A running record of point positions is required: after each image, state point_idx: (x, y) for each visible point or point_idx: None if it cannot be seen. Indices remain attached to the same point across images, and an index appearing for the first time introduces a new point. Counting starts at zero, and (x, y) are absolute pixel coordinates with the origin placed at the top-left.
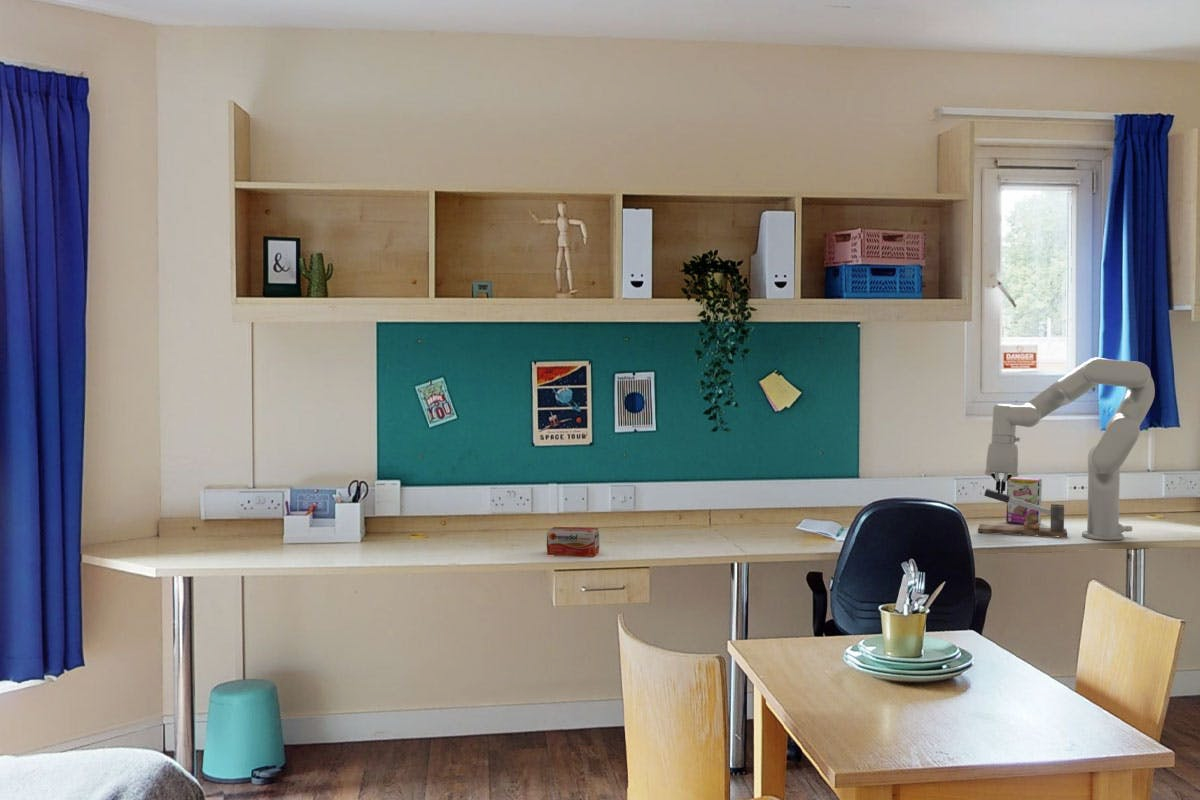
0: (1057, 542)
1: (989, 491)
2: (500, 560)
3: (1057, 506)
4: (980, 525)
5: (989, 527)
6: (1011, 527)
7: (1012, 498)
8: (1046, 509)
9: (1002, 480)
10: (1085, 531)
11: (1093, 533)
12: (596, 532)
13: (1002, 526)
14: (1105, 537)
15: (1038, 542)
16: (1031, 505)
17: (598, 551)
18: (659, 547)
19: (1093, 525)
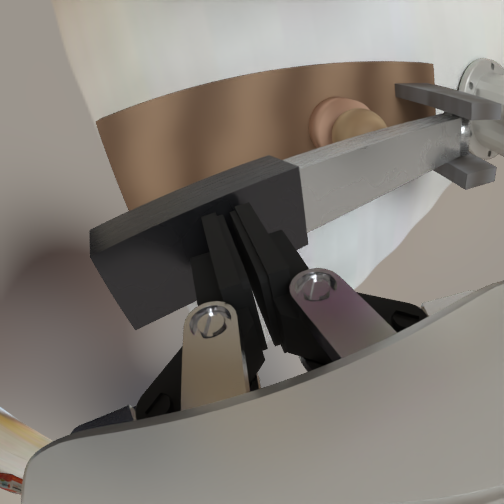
0: (396, 245)
1: (161, 313)
2: None
3: (481, 175)
4: (114, 159)
5: (167, 186)
6: (253, 127)
7: (318, 209)
8: (442, 163)
9: (292, 348)
10: (468, 84)
11: (481, 142)
12: (18, 491)
13: (209, 121)
14: (490, 158)
15: (353, 274)
16: (400, 181)
17: (13, 476)
18: (5, 464)
19: (498, 149)
